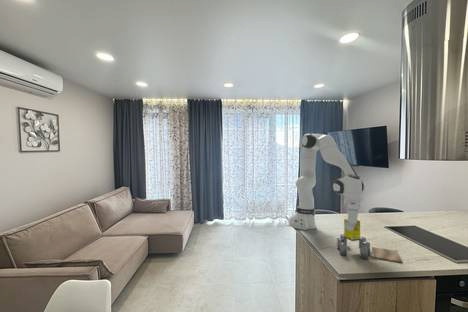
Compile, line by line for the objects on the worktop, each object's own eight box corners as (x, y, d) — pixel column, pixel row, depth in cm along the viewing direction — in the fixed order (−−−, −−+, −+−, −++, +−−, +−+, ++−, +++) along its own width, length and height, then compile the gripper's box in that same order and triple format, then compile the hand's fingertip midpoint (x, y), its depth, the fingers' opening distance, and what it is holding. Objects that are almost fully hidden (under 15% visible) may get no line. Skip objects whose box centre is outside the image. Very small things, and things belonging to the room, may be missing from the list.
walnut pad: (374, 258, 121) (374, 256, 121) (372, 248, 133) (372, 247, 133) (402, 263, 116) (402, 261, 116) (396, 252, 128) (396, 250, 128)
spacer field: (336, 254, 126) (336, 244, 126) (337, 243, 141) (337, 233, 141) (371, 260, 118) (371, 249, 118) (368, 247, 134) (368, 237, 134)
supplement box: (360, 240, 128) (360, 221, 128) (351, 241, 126) (351, 222, 126) (352, 236, 134) (352, 218, 133) (343, 237, 132) (344, 218, 132)
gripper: (346, 199, 140) (346, 221, 141) (346, 206, 122) (345, 232, 122) (358, 200, 137) (357, 222, 138) (359, 208, 119) (359, 234, 119)
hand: (352, 227), depth 130 cm, fingers closed on supplement box, 8 cm apart
